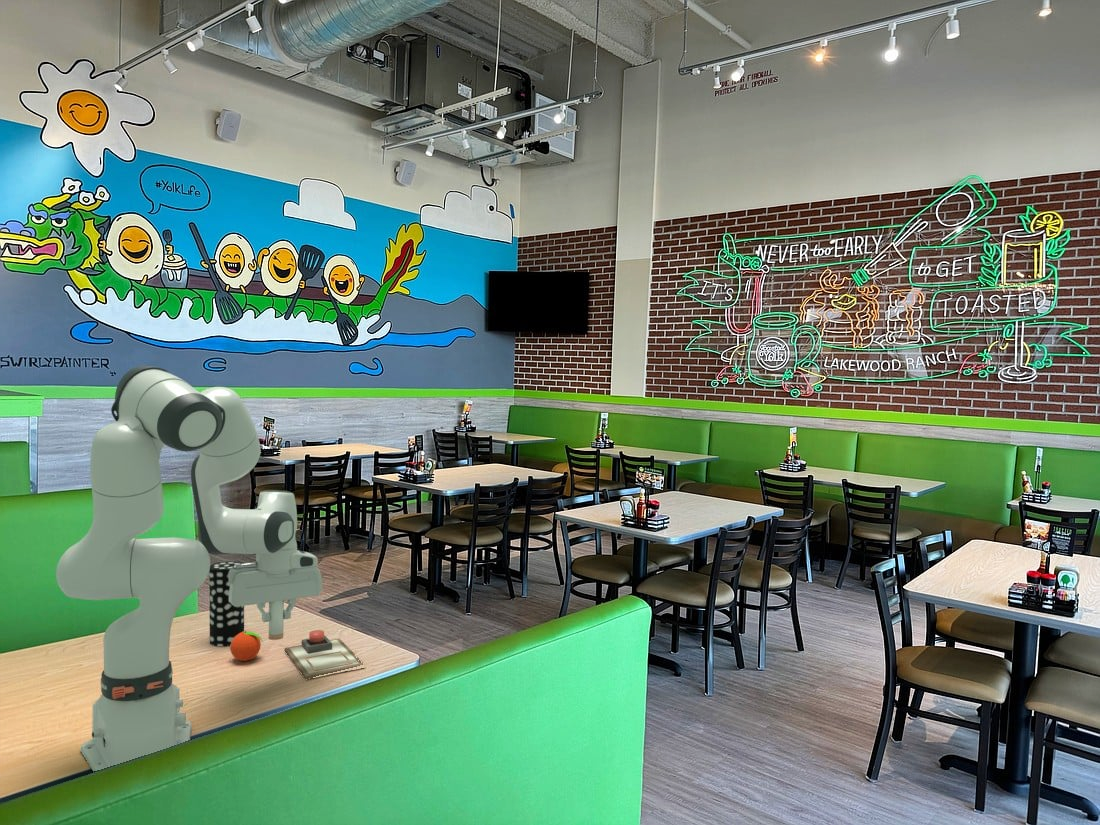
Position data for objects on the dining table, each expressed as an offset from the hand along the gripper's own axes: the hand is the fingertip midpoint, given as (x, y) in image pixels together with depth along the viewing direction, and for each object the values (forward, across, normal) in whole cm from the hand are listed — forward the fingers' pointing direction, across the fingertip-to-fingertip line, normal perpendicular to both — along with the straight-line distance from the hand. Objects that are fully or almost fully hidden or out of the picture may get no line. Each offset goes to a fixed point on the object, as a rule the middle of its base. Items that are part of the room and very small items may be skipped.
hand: (276, 619), depth 176 cm
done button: (+10, +13, +12) cm, 21 cm away
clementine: (+14, -3, +16) cm, 21 cm away
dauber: (+4, 0, 0) cm, 4 cm away
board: (+14, +13, +6) cm, 20 cm away
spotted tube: (+13, -5, +32) cm, 35 cm away
